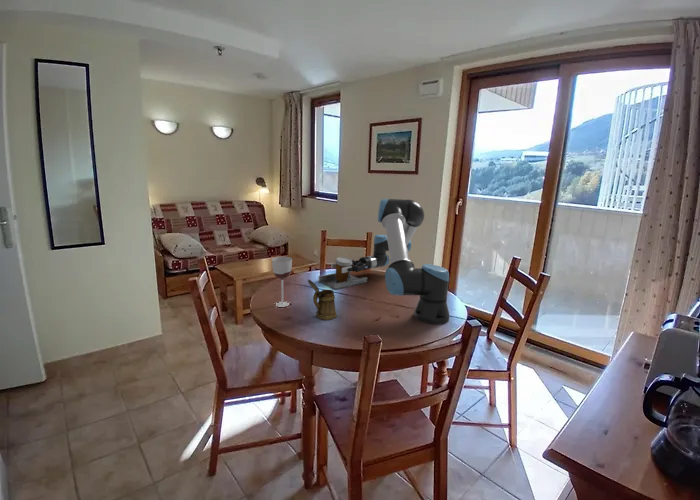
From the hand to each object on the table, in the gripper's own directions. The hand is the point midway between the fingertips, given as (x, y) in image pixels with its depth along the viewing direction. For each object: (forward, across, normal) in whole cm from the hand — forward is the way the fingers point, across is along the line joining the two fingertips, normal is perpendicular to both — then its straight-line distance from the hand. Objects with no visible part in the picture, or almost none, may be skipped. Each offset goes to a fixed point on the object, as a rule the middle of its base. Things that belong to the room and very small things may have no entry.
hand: (336, 268), depth 200 cm
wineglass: (+40, -11, -9) cm, 42 cm away
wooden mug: (+33, -33, -9) cm, 47 cm away
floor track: (-4, 0, -9) cm, 10 cm away
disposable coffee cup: (-5, +2, -8) cm, 9 cm away
